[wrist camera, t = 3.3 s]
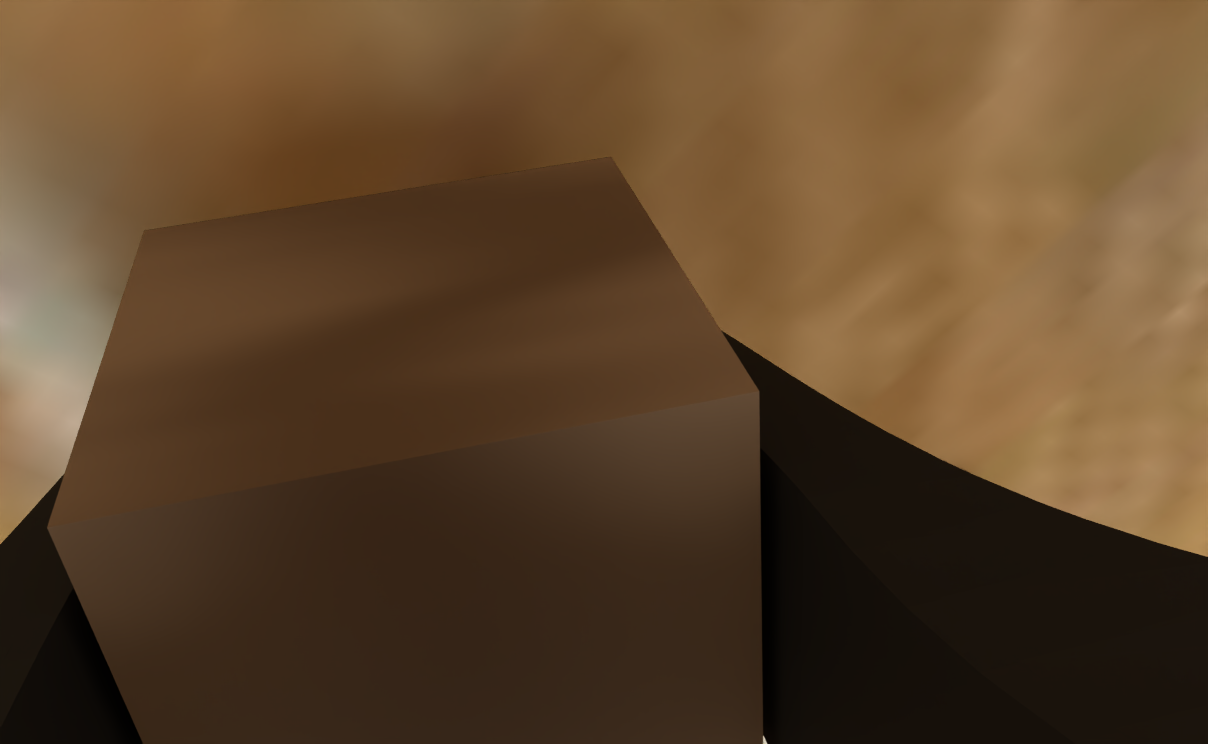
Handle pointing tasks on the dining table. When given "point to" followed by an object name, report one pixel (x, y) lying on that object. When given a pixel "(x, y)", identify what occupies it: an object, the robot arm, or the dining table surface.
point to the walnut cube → (422, 478)
